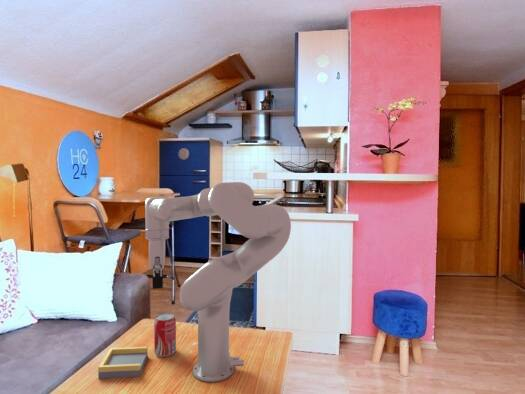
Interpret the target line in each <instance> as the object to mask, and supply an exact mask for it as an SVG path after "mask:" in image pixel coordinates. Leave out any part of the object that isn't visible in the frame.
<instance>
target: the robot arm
mask: <svg viewBox="0 0 525 394" xmlns="http://www.w3.org/2000/svg"><path fill="white" fill-rule="evenodd" d="M254 200H255V193H254V190H253V188H252V187H251V186H250V185H249V184H247V183H245V182H241V181H237V182H236V181H235V182H232V181H230V182H220V183H217V184H216V185H214V186H213V187H208V188H203V189H202V190H201V191H200V192H199V193H198V194H194V195H187V196H178V197H177V196H176V197H163V196H153V197H148V198H146V199H145V201H144V202H145V203H144V207H145V209H144V210H145V213H144V214H145V221H144V223H145V240H147V241H148V269H149V270H152V272H153V273H152V289H153V290H154V289H156V290H157V289H158V290H159V289H163V288H164V267H165V264H166V263H165V261H166V240H167V239H170V229H169V228H170V227H169V226H170V222H174V221H180V220H187V219H194V218H198V217H199V218H200V217H204V216H206V217H214V216H218V217H219V218H221V219H222V220H223V221H224V222H226V224H228V225H229V226H231V227H232V228H233V229H234V230H235V231H236V232H237V233H239V234H240V235H242V236H243V237H244V238H247V239H248V240H246V241H245V242H244V243H243V244H242V245H241V246H240V247H238V248H237V249H236V250H234V251H233V252H230V253H227V254H224V255H221V256H219V257H215V258H212V259H211V260H209V261H208V262H205V264H203V265H202V266H201V267H200V268H198V269H197V270H196V271H195V272H194V273H193V274H191V275H190V276H189V277H187V279H185V280H184V282H183V283H182V285H181V287H180V290H179V300H180V303H181V305H182V306H183V307H184V308H185V309H187V310H188V311H190V312H198V317H197V320H198V321H197V362H196V363H195V364H194V365H193V367H192V373H193V376H194V377H195V378H196V379H198V380H200V381H203V382H207V383H208V382H209V383H212V382H213V383H216V382H220V381H224V380H226V379H228V378H230V376H232V375H233V374H234V371H235V370H234V369H235V368H234V367H244V365H245V364H244V363H245V362H244V359H240V356H232V355H231V352H230V309H231V300H232V296H233V290H234V288H237V287H239V286H241V285H242V284H244V283H245V282H246V281H248V279H250V278H251V277H252V276H253V275H255V274H256V273H257V272H258V271H260V270H261V269H262V268H263V267H265V266H266V265H267V264H268V263H270V261H272V260H273V259H274V258H275V257H277V256H278V255H279V254H280V253H281V252H282V251H283V250H284V248H285V247H286V245H287V243H288V241H289V238H290V235H291V229H292V224H291V223H292V222H291V218H290V215H289V213H288V211H287V210H286V209H285V208H284V207H282V206H281V205H278V204H273V203H272V204H270V203H269V204H268V203H267V204H261V205H254V204H253V203H254Z"/></svg>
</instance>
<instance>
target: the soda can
mask: <svg viewBox="0 0 525 394" xmlns="http://www.w3.org/2000/svg"><path fill="white" fill-rule="evenodd" d="M153 322H154V323H153V329H154V331H153V334H154V335H153V338H154V339H153V341H154V343H153V344H154V345H153V347H154V349H153V351H154V354H155V355H156V356H157V357H159V358H168V357H171V356H173V355H174V354H175V353H176V350H177V327H176V325H177V323H176V318H175V314H173V313H170V312H163V313H159V314H157V315H155V319H154V321H153Z"/></svg>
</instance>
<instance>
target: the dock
mask: <svg viewBox="0 0 525 394" xmlns="http://www.w3.org/2000/svg"><path fill="white" fill-rule="evenodd" d="M148 353H149V351H148V346H137V347H136V346H134V347H131V346H130V347H128V346H127V347H111V348H109V349H108V351H107V352H106V354H105V355H104V357H103V359H102V361H101V362H100V364H99V365H98V366H97V367H98V368H97V369H98V373H97V374H98V376H97V377H98V379H100V380H101V379H115V378H116V379H118V378H119V379H120V378H132V377H133V378H139V377H141V375H142V373H143V370H144V367H145V365H146V361H147V359H148Z"/></svg>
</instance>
